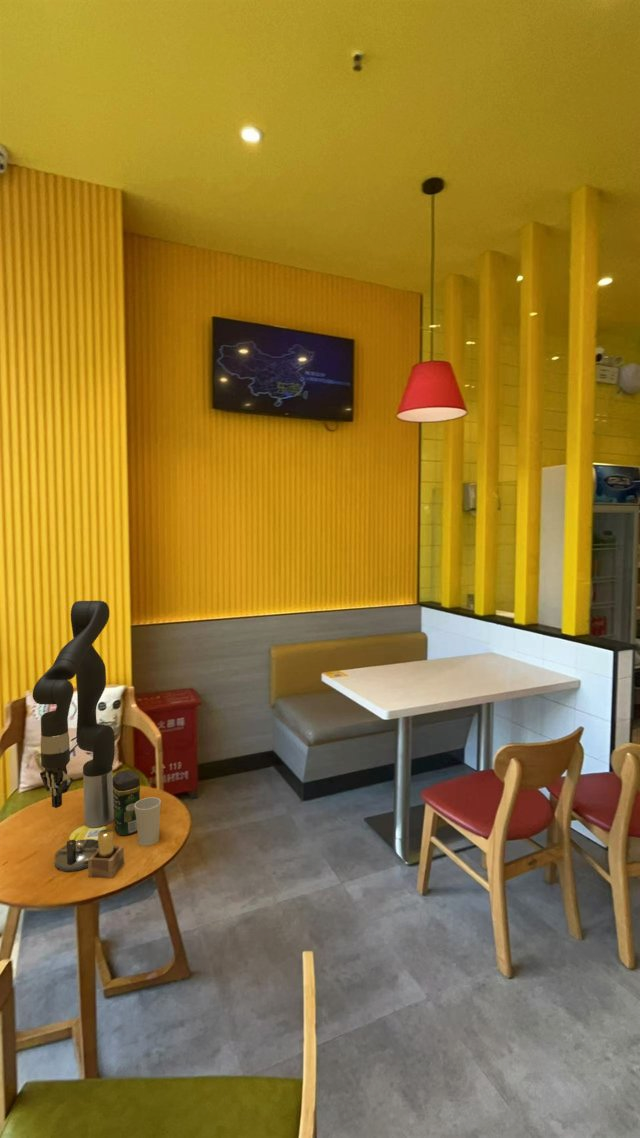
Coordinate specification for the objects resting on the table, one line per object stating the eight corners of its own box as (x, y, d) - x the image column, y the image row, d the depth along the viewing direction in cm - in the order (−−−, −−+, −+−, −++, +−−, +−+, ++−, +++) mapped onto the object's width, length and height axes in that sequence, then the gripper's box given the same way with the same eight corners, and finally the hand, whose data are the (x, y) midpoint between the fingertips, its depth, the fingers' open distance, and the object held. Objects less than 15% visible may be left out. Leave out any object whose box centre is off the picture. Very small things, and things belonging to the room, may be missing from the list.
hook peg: (103, 865, 156) (102, 828, 155) (116, 866, 155) (115, 829, 155) (96, 873, 152) (95, 836, 151) (109, 874, 151) (108, 836, 151)
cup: (131, 840, 169) (129, 803, 168) (154, 830, 174) (153, 794, 174) (142, 850, 163) (141, 812, 162) (166, 840, 169) (165, 803, 168)
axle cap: (77, 845, 161) (77, 839, 160) (86, 846, 160) (86, 839, 160) (71, 851, 158) (71, 845, 157) (81, 851, 157) (80, 845, 157)
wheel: (66, 846, 165) (65, 821, 165) (108, 844, 166) (108, 819, 166) (47, 872, 152) (46, 845, 152) (93, 870, 153) (92, 843, 152)
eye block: (101, 862, 157) (100, 845, 157) (124, 863, 156) (123, 846, 156) (88, 876, 150) (88, 859, 150) (112, 878, 149) (111, 860, 149)
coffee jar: (111, 826, 177) (109, 771, 176) (135, 818, 182) (133, 765, 181) (119, 839, 169) (117, 782, 169) (144, 831, 174) (142, 775, 173)
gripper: (29, 748, 154) (31, 806, 155) (56, 756, 147) (58, 818, 148) (54, 739, 161) (55, 796, 161) (81, 748, 154) (82, 806, 155)
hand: (57, 806), depth 155 cm, fingers closed
